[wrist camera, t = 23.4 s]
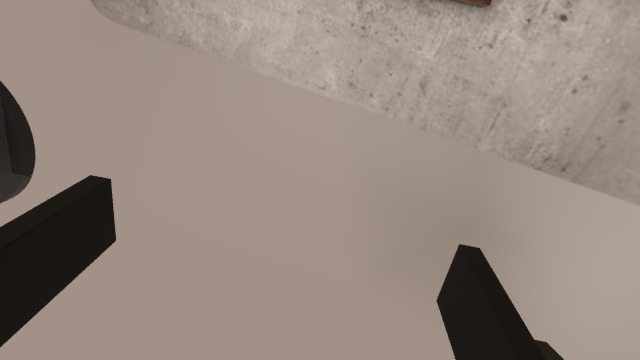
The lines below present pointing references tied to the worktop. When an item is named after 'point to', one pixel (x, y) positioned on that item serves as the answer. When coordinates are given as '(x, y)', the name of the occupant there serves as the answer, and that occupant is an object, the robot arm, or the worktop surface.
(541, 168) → the worktop surface
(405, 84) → the worktop surface
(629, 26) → the worktop surface
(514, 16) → the worktop surface
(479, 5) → the compartment tray
